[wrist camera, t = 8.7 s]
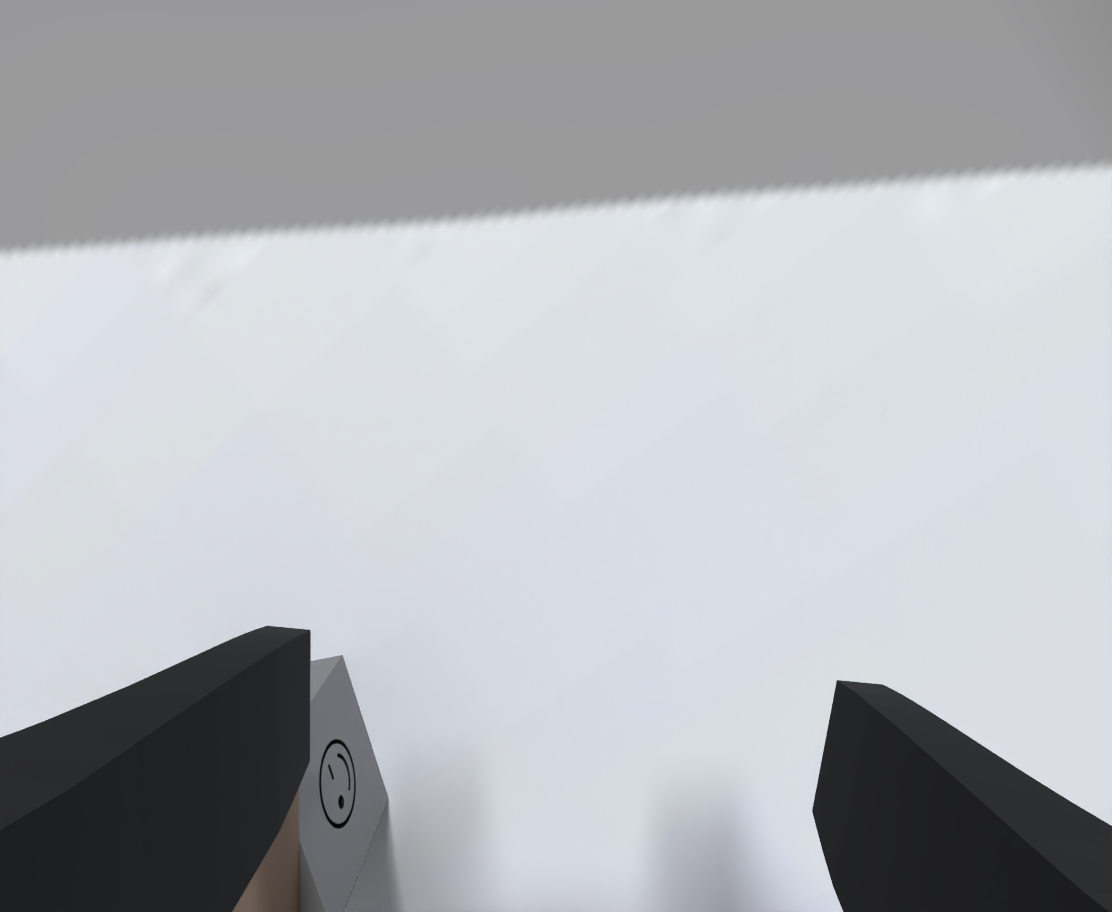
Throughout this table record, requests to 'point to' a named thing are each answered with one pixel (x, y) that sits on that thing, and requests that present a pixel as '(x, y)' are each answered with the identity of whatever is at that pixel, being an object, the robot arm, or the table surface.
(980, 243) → the table surface
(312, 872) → the dice cube
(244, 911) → the walnut block
